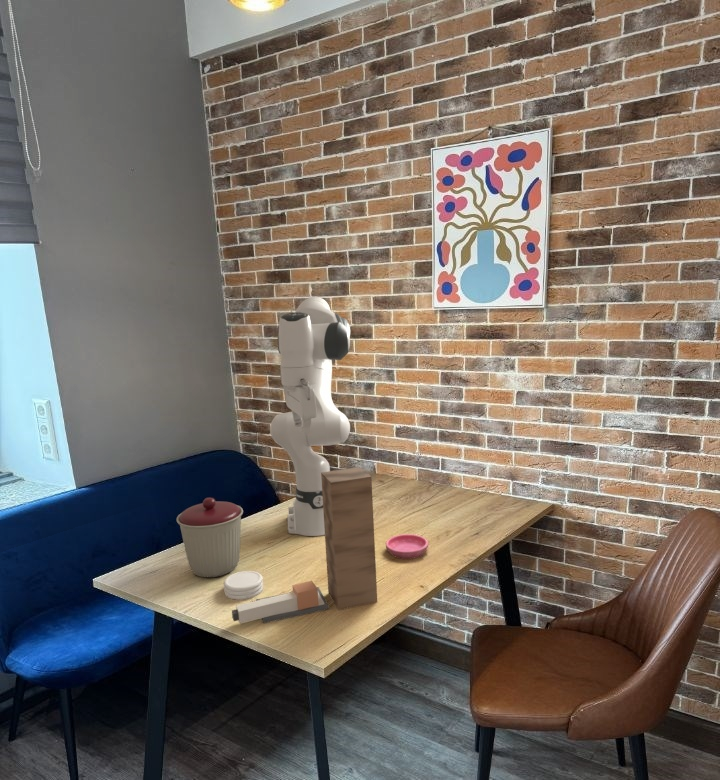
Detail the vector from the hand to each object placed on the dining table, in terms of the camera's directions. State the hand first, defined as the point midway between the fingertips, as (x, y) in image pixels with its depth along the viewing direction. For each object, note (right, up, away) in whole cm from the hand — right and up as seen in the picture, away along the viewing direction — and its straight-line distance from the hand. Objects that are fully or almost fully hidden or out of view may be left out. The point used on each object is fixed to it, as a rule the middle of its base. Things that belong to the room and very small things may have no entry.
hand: (302, 429), depth 153 cm
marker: (-5, -43, -12) cm, 44 cm away
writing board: (-2, -43, -7) cm, 44 cm away
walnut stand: (+13, -42, -5) cm, 44 cm away
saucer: (+29, -37, +20) cm, 51 cm away
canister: (-26, -41, +15) cm, 51 cm away
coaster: (-15, -43, +2) cm, 45 cm away
